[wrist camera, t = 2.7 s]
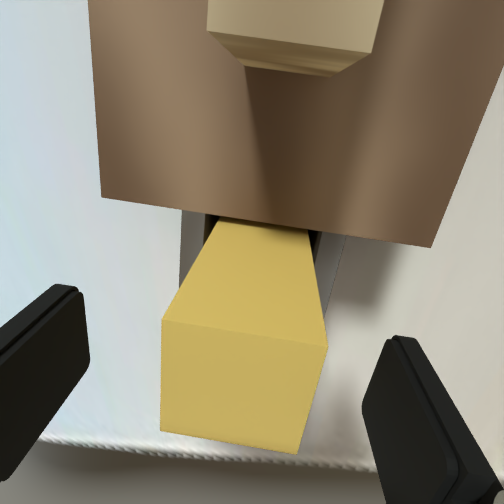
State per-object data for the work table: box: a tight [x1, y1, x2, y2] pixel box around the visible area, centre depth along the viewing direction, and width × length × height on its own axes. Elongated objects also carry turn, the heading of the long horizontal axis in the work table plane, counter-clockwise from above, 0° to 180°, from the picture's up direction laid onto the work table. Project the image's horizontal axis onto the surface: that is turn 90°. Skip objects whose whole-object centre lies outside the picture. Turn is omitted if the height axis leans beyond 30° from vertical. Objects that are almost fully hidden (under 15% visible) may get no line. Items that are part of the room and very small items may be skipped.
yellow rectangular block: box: [160, 216, 328, 455], centre depth 16 cm, size 4×4×16 cm
